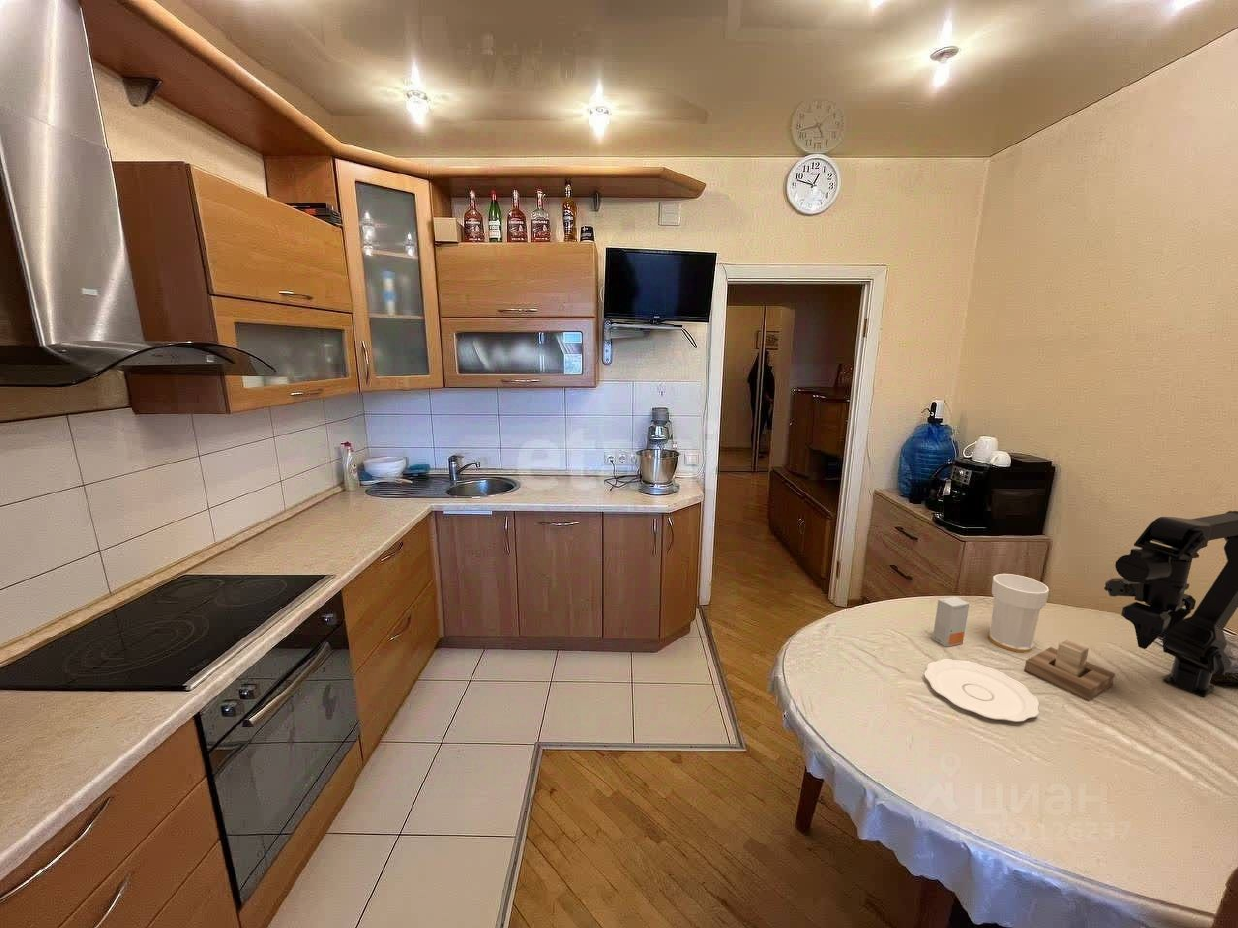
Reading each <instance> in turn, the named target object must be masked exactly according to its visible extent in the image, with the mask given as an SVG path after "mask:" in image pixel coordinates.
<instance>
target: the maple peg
mask: <svg viewBox="0 0 1238 928" xmlns="http://www.w3.org/2000/svg"><path fill="white" fill-rule="evenodd" d="M1089 649H1090V648H1089V647H1087V646H1085V645H1083V644H1080V643H1078V642H1075V641H1072V640H1070V639H1066V640H1064V641H1062V642H1060V643H1059V644H1058V647H1057V650H1058V652H1057V657H1056V662H1055V667H1057V668H1059V669H1061V670H1064V671H1066V672H1068V673H1070V674H1073V675H1075V676H1077V677H1079V678H1081V677H1082V676H1083V675H1084V670H1085V665H1086V662H1087V660H1088V655H1089V651H1090V650H1089Z"/></svg>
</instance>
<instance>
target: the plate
mask: <svg viewBox="0 0 1238 928" xmlns="http://www.w3.org/2000/svg"><path fill="white" fill-rule="evenodd" d="M923 674H924V678H925V679H926V681H927V682H928V683H929V684H930V687H931V689H933V691H935V693H937V694H938V695H940V696H942V697H944V699H945V698H946V700H948V701H949V702H950V703H951V704H953V705H955V706H957V707H958V708H960V709H962V710H963V709H964V710H965V711H969V712H973V713H975V714H977V715H980V716H981V717H984V718H988V719H991V720H1000V721H1001V720H1002V721H1010V722H1014V723H1019V722H1024V721H1026V720H1028V719H1031V718H1036V717H1037V716H1038V715H1039V714H1040V712H1039V708H1038V707H1039V705H1040V702H1039V700H1038V698H1037V697H1036V696H1035V695H1034V694H1032V693H1031V691H1030V690H1029V689H1028V687H1026V686H1025V685H1024V684H1023V683H1021V682H1020V681H1018V680H1016V679H1014V678H1011V677H1010V676H1008V675H1007V674H1006V673H1003V672H1002V671H1000V670H997V669H995V668H992V667H988V666H986V665H982V664H979V663H976V662H974V661H968V660H961V659H960V660H959V659H958V660H956V659H951V658H942V659H940V660H938V661H932V662H929V663H928V664H927V665H926V669H925V671H924V672H923ZM964 685H965V686H964ZM963 686H964V687H963ZM991 699H992V700H991Z"/></svg>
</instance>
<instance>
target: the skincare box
mask: <svg viewBox="0 0 1238 928" xmlns="http://www.w3.org/2000/svg"><path fill="white" fill-rule="evenodd" d="M969 609H970V603H969V602H968V601H965V600H963V599H961V598H959V597H958V596H950V597H945V598H939V599H938V600H937V608H936V614H935V621H934V627H933V632H932V633H933V634H932V640H934V641H935V642H937V643H938V644H940V645H942V646H943V647H945V648H948V647H953V646H956V645H962V644H963V643H964V638H965V632H966V627H967V622H968V621H967V620H968V615H969Z"/></svg>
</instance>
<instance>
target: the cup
mask: <svg viewBox="0 0 1238 928" xmlns="http://www.w3.org/2000/svg"><path fill="white" fill-rule="evenodd" d="M1049 592H1050V590H1049V587H1048V586H1047V585H1046V584H1044V583H1043V582H1041V581H1040V580H1039V581H1038V580H1036V579H1034V578H1031V577H1027V576H1023V575H1018V574H1012V573H1011V574H1010V573H998V574H996V575H993V576H992V586H991V595H992V597H993V598H994V599H993V605H992V612H991V613H992V614H991V623H990V631H989V635H988V638H989V640H990V641H991V642H992V643H993V644H995V645H996V646H998V647H1000V648H1003V649H1005V650H1008V651H1011V652H1014V653H1016V652H1017V653H1030V652H1031V651H1032V650H1033V647H1034V645H1033V641H1034V638H1035V632H1036V629H1037V624H1038V619H1039V615H1040V611H1041V610H1042V609H1043V608H1044V607H1045V606H1046V605H1047V601H1048V596H1049Z"/></svg>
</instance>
